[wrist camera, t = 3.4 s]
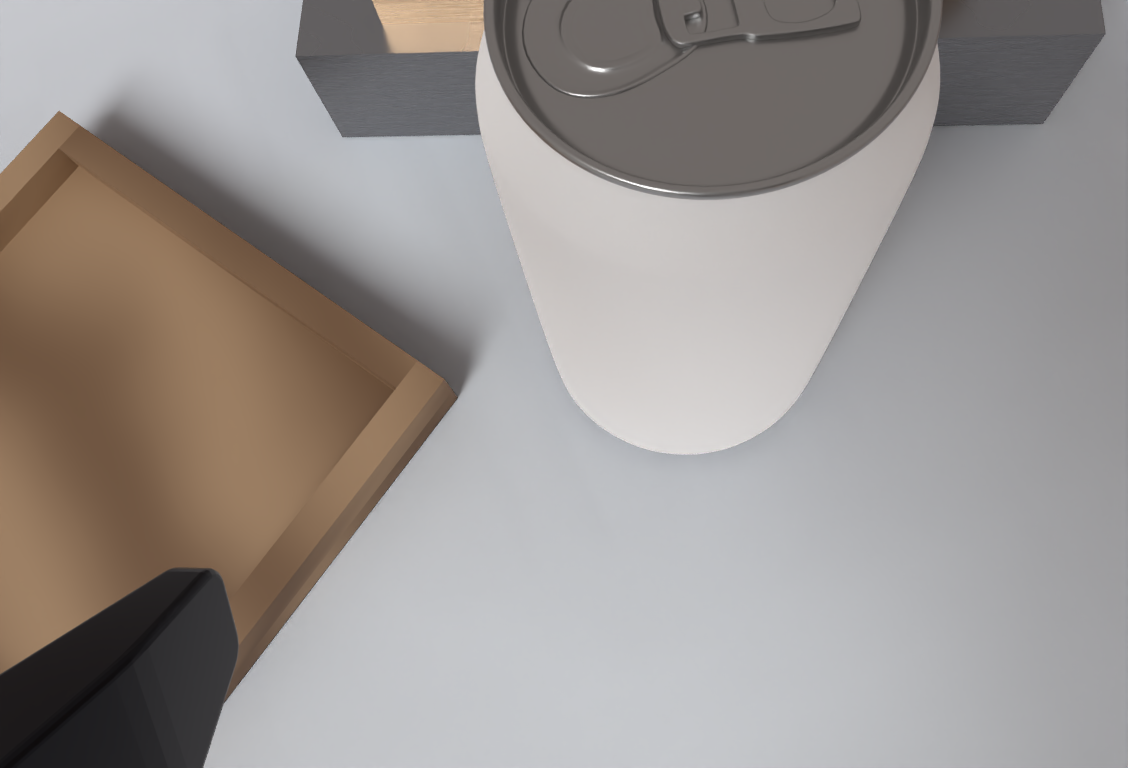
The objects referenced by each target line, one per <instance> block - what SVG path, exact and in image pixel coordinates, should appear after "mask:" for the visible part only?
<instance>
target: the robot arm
mask: <svg viewBox="0 0 1128 768" xmlns="http://www.w3.org/2000/svg"><path fill="white" fill-rule="evenodd" d="M238 650H239V641H238V634H237V630H236V626H235V622H234V618H233V615H232V611H231V607H230V603H229V600H228V596H227V592H226V588H225V585H224V582H223V579H222V577H221V575H220V574H219V572H217V571H216V570H214V569H212V568H195V567H176V568H171V569H169V570H167V571H165V572H163V573H161V574H160V575H158V576H157V577H155V578H153V579H152V580H150V581H149V582H147V583H145V584H144V585H142V586H141V587H139V588H137V589H136V590H134V591H133V592H131V593H129V594H128V595H126V596H125V597H123V598H121V599H120V600H118V601H117V602H115V603H113V604H112V605H110V606H109V607H107V608H105V609H104V610H102V611H100V612H99V613H97V614H96V615H94V616H92V617H91V618H89V619H88V620H86V621H84V622H83V623H81V624H80V625H78V626H76V627H75V628H73V629H72V630H70V631H68V632H67V633H65V634H64V635H62V636H60V637H59V638H57V639H56V640H54V641H52V642H51V643H49V644H48V645H46V646H44V647H43V648H41V649H40V650H38V651H36V652H35V653H33V654H31V655H30V656H28V657H27V658H25V659H23V660H22V661H20V662H19V663H17V664H15V665H14V666H12V667H11V668H9V669H7V670H6V671H4V672H3V673H1V674H0V768H203V766H204V763H205V760H206V757H207V754H208V751H209V748H210V744H211V741H212V738H213V735H214V732H215V729H216V726H217V723H218V719H219V716H220V713H221V710H222V707H223V704H224V701H225V697H226V694H227V691H228V688H229V685H230V682H231V679H232V676H233V672H234V669H235V666H236V662H237V658H238Z"/></svg>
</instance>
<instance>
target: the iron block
mask: <svg viewBox="0 0 1128 768" xmlns="http://www.w3.org/2000/svg"><path fill="white" fill-rule="evenodd" d="M483 11H484V0H303V6H302V13H301V20H300V27H299V35H298V42H297V49H296V58H297V60H298V61H299V63H300V65H301V66H302V68H303V70H304V72H305V73H306V75H307V77H308V78H309V80H310V82H311V84H312V85H313V87H314V89H315V91H316V92H317V94H318V96H319V97H320V99H321V101H322V103H323V104H324V106H325V108H326V109H327V111H328V113H329V115H330V116H331V118H332V120H333V121H334V123H335V125H336V127H337V128H338V130H339V132H340V134H341V135H342V137H369V136H421V135H473V134H481V132H480V127H479V121H478V114H477V106H476V94H475V77H476V65H477V58H478V52H479V47H480V43H481V39H482V35H483V32H484V15H483ZM1105 34H1106V33H1105V26H1104V20H1103V13H1102V7H1101V0H943V5H942V19H941V27H940V32H939V37H938V41H937V44H938V51H939V61H940V91H939V100H938V107H937V112H936V116H935V120H934V124H933V126H938V125H990V124H1041V123H1044V121H1045V120H1046V118H1047V117H1048V116H1049V114H1050V113H1051V111H1052V110H1053V108H1054V107H1055V105H1056V104H1057V103H1058V101H1059V100H1060V98H1061V97H1062V95H1063V94H1064V93H1065V91H1066V90H1067V88H1068V87H1069V85H1070V84H1071V82H1072V81H1073V80H1074V78H1075V77H1076V75H1077V74H1078V72H1079V71H1080V70H1081V68H1082V67H1083V65H1084V64H1085V62H1086V61H1087V59H1088V58H1089V57H1090V55H1091V54H1092V52H1093V51H1094V49H1095V48H1096V47H1097V45H1098V44H1099V42H1100V41H1101V39H1102V38H1103V36H1104V35H1105Z"/></svg>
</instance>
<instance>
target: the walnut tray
mask: <svg viewBox="0 0 1128 768" xmlns="http://www.w3.org/2000/svg"><path fill="white" fill-rule="evenodd" d="M457 398H458V397H457V396H456V395H455V393H454V392H453V390H452V389H451V388H450V386H449V385H448V383H447V382H446V381H445V379H443V378H442V377H441V376H439V375H438V374H436V373H435V372H433V371H432V370H430V369H429V368H428V367H426V366H425V365H423V364H422V363H420V362H419V361H418V360H416V359H415V358H413V357H412V356H410V355H409V354H407V353H406V352H405V351H403V350H402V349H400V348H399V347H397V346H396V345H395V344H393V343H392V342H390V341H389V340H387V339H386V338H385V337H383V336H382V335H380V334H379V333H377V332H376V331H374V330H373V329H372V328H370V327H369V326H367V325H366V324H364V323H363V322H362V321H360V320H359V319H357V318H356V317H354V316H353V315H351V314H350V313H349V312H347V311H346V310H344V309H343V308H341V307H340V306H339V305H337V304H336V303H334V302H333V301H331V300H330V299H328V298H327V297H326V296H324V295H323V294H321V293H320V292H318V291H317V290H316V289H314V288H313V287H311V286H310V285H308V284H307V283H306V282H304V281H303V280H301V279H300V278H298V277H297V276H295V275H294V274H293V273H291V272H290V271H288V270H287V269H285V268H284V267H283V266H281V265H280V264H278V263H277V262H275V261H274V260H272V259H271V258H270V257H268V256H267V255H265V254H264V253H262V252H261V251H260V250H258V249H257V248H255V247H254V246H252V245H251V244H250V243H248V242H247V241H245V240H244V239H242V238H241V237H239V236H238V235H237V234H235V233H234V232H232V231H231V230H229V229H228V228H227V227H225V226H224V225H222V224H221V223H219V222H218V221H216V220H215V219H214V218H212V217H211V216H209V215H208V214H206V213H205V212H204V211H202V210H201V209H199V208H198V207H196V206H195V205H193V204H192V203H191V202H189V201H188V200H186V199H185V198H183V197H182V196H181V195H179V194H178V193H176V192H175V191H173V190H172V189H171V188H169V187H168V186H166V185H165V184H163V183H162V182H160V181H159V180H158V179H156V178H155V177H153V176H152V175H150V174H149V173H148V172H146V171H145V170H143V169H142V168H140V167H139V166H137V165H136V164H135V163H133V162H132V161H130V160H129V159H127V158H126V157H125V156H123V155H122V154H120V153H119V152H117V151H116V150H115V149H113V148H112V147H110V146H109V145H107V144H106V143H104V142H103V141H102V140H100V139H99V138H97V137H96V136H94V135H93V134H92V133H90V132H89V131H87V130H86V129H84V128H83V127H81V126H80V125H79V124H77V123H76V122H74V121H73V120H71V119H70V118H69V117H67V116H66V115H64V114H63V113H61V112H60V111H58V112H57V114H56V115H55V116H54V117H53V118H52V119H51V120H50V121H49V122H48V123H47V124H46V125H45V126H44V128H43V129H42V130H41V131H40V132H39V133H38V134H37V135H36V136H35V137H34V138H33V139H32V140H31V142H30V143H29V144H28V145H27V146H26V147H25V148H24V149H23V150H22V151H21V152H20V153H19V154H18V155H17V157H16V158H15V159H14V160H13V161H12V162H11V163H10V164H9V165H8V166H7V167H6V168H5V169H4V171H3V172H2V173H1V174H0V674H1V673H3V672H4V671H6V670H7V669H9V668H11V667H12V666H14V665H15V664H17V663H19V662H20V661H22V660H23V659H25V658H27V657H28V656H30V655H31V654H33V653H35V652H36V651H38V650H40V649H41V648H43V647H44V646H46V645H48V644H49V643H51V642H52V641H54V640H56V639H57V638H59V637H60V636H62V635H64V634H65V633H67V632H68V631H70V630H72V629H73V628H75V627H76V626H78V625H80V624H81V623H83V622H84V621H86V620H88V619H89V618H91V617H92V616H94V615H96V614H97V613H99V612H100V611H102V610H104V609H105V608H107V607H109V606H110V605H112V604H113V603H115V602H117V601H118V600H120V599H121V598H123V597H125V596H126V595H128V594H129V593H131V592H133V591H134V590H136V589H137V588H139V587H141V586H142V585H144V584H145V583H147V582H149V581H150V580H152V579H153V578H155V577H157V576H158V575H160V574H161V573H163V572H165V571H167V570H169V569H171V568H176V567H195V568H212V569H214V570H216V571H217V572H219V574H220V575H221V577H222V579H223V582H224V585H225V588H226V592H227V596H228V600H229V603H230V607H231V611H232V615H233V618H234V622H235V626H236V630H237V634H238V641H239V650H238V658H237V662H236V666H235V669H234V672H233V676H232V679H231V682H230V685H229V688H228V691H227V694H226V697H225V701H226V700H227V698H228V697H229V696H230V694H231V693H232V692H233V690H234V689H235V688H236V686H237V685H238V684H239V683H240V681H241V680H242V679H243V677H244V676H245V675H246V673H247V672H248V671H249V670H250V668H251V667H252V666H253V664H254V663H255V662H256V660H257V659H258V658H259V656H260V655H261V654H262V653H263V651H264V650H265V649H266V647H267V646H268V645H269V643H270V642H271V641H272V640H273V638H274V637H275V636H276V634H277V633H278V632H279V630H280V629H281V628H282V626H283V625H284V624H285V623H286V621H287V620H288V619H289V617H290V616H291V615H292V613H293V612H294V611H295V610H296V608H297V607H298V606H299V604H300V603H301V602H302V600H303V599H304V598H305V596H306V595H307V594H308V593H309V591H310V590H311V589H312V587H313V586H314V585H315V583H316V582H317V581H318V580H319V578H320V577H321V576H322V574H323V573H324V572H325V570H326V569H327V568H328V566H329V565H330V564H331V563H332V561H333V560H334V559H335V557H336V556H337V555H338V553H339V552H340V551H341V549H342V548H343V547H344V546H345V544H346V543H347V542H348V540H349V539H350V538H351V536H352V535H353V534H354V533H355V531H356V530H357V529H358V527H359V526H360V525H361V523H362V522H363V521H364V519H365V518H366V517H367V516H368V514H369V513H370V512H371V510H372V509H373V508H374V506H375V505H376V504H377V503H378V501H379V500H380V499H381V497H382V496H383V495H384V493H385V492H386V491H387V489H388V488H389V487H390V486H391V484H392V483H393V482H394V480H395V479H396V478H397V476H398V475H399V474H400V473H401V471H402V470H403V469H404V467H405V466H406V465H407V463H408V462H409V461H410V459H411V458H412V457H413V456H414V454H415V453H416V452H417V450H418V449H419V448H420V446H421V445H422V444H423V443H424V441H425V440H426V439H427V437H428V436H429V435H430V433H431V432H432V431H433V429H434V428H435V427H436V426H437V424H438V423H439V422H440V420H441V419H442V418H443V416H444V415H445V414H446V413H447V411H448V410H449V409H450V407H451V406H452V405H453V403H454V402H455V401H456V399H457ZM225 701H224V702H225Z"/></svg>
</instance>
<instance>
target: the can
mask: <svg viewBox="0 0 1128 768" xmlns="http://www.w3.org/2000/svg"><path fill="white" fill-rule="evenodd" d="M942 5H943V0H484V11H483V15H484V32H483V35H482V39H481V43H480V47H479V52H478V58H477V65H476V77H475V94H476V106H477V114H478V121H479V127H480V132H481V136H482V140H483V144H484V148H485V151H486V155H487V159H488V163H489V166H490V169H491V172H492V175H493V179H494V182H495V185H496V188H497V191H498V195H499V198H500V201H501V204H502V207H503V210H504V213H505V216H506V219H507V223H508V226H509V229H510V232H511V235H512V238H513V241H514V244H515V247H516V250H517V253H518V256H519V259H520V262H521V265H522V268H523V271H524V274H525V277H526V281H527V284H528V287H529V290H530V292H531V295H532V298H533V301H534V304H535V307H536V310H537V313H538V316H539V319H540V322H541V325H542V328H543V331H544V334H545V337H546V340H547V343H548V345H549V348H550V351H551V354H552V356H553V359H554V362H555V364H556V367H557V369H558V371H559V374H560V376H561V378H562V380H563V382H564V384H565V386H566V388H567V390H568V392H569V393H570V395H571V396H572V398H573V399H574V401H575V402H576V403H577V405H578V406H579V407H580V408H581V409H582V411H583V412H584V413H585V414H586V415H587V416H588V417H589V418H591V419H592V420H593V421H594V422H595V423H596V424H598V425H599V426H600V427H601V428H603V429H604V430H606V431H607V432H609V433H610V434H612V435H614V436H615V437H617V438H619V439H621V440H623V441H625V442H627V443H630V444H632V445H635V446H638V447H641V448H644V449H647V450H651V451H656V452H661V453H668V454H680V455H691V454H703V453H710V452H715V451H720V450H723V449H727V448H730V447H733V446H736V445H738V444H741V443H743V442H745V441H747V440H749V439H751V438H753V437H755V436H757V435H759V434H760V433H762V432H763V431H765V430H766V429H768V428H769V427H770V426H772V425H773V424H774V423H775V422H777V421H778V420H779V419H780V418H781V417H782V416H783V415H784V414H785V413H786V412H787V411H788V410H789V409H790V408H791V407H792V405H793V404H794V403H795V402H796V400H797V399H798V398H799V396H800V395H801V393H802V392H803V390H804V389H805V387H806V385H807V384H808V382H809V380H810V379H811V377H812V375H813V373H814V371H815V370H816V368H817V366H818V364H819V362H820V360H821V358H822V357H823V355H824V353H825V351H826V349H827V347H828V345H829V343H830V341H831V339H832V338H833V336H834V334H835V332H836V330H837V328H838V326H839V324H840V322H841V320H842V318H843V316H844V314H845V313H846V311H847V309H848V307H849V305H850V303H851V301H852V299H853V297H854V295H855V293H856V291H857V289H858V287H859V285H860V283H861V281H862V279H863V277H864V276H865V274H866V272H867V270H868V268H869V266H870V264H871V262H872V260H873V258H874V256H875V254H876V252H877V250H878V248H879V246H880V244H881V242H882V240H883V238H884V236H885V234H886V232H887V230H888V228H889V226H890V224H891V222H892V220H893V218H894V216H895V214H896V212H897V210H898V208H899V206H900V204H901V202H902V200H903V198H904V196H905V194H906V192H907V190H908V188H909V186H910V184H911V182H912V180H913V177H914V175H915V173H916V170H917V168H918V166H919V164H920V161H921V159H922V157H923V154H924V152H925V150H926V147H927V144H928V141H929V138H930V134H931V131H932V127H933V124H934V120H935V116H936V112H937V107H938V100H939V91H940V61H939V51H938V44H937V41H938V37H939V32H940V27H941V19H942Z"/></svg>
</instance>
